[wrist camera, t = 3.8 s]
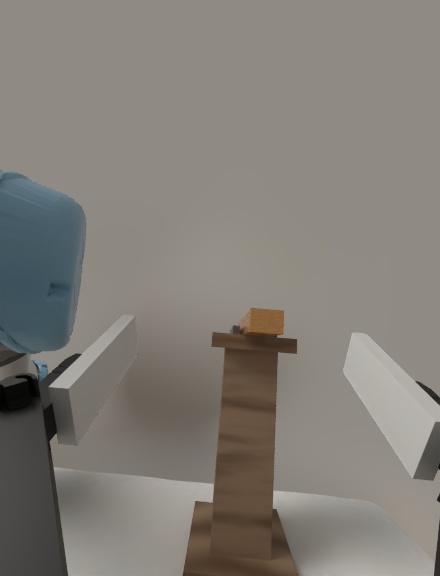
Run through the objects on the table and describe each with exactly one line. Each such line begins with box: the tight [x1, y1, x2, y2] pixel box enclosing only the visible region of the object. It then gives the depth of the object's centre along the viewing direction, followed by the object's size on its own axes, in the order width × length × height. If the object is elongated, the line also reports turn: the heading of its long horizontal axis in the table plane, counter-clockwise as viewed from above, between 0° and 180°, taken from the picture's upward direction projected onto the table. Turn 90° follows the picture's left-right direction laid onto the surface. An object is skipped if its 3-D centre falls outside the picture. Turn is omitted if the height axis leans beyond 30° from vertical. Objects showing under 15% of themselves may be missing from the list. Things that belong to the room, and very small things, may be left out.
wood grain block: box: [238, 308, 284, 337], centre depth 39 cm, size 24×4×2 cm, turn 179°
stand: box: [183, 326, 298, 576], centre depth 40 cm, size 14×14×31 cm
